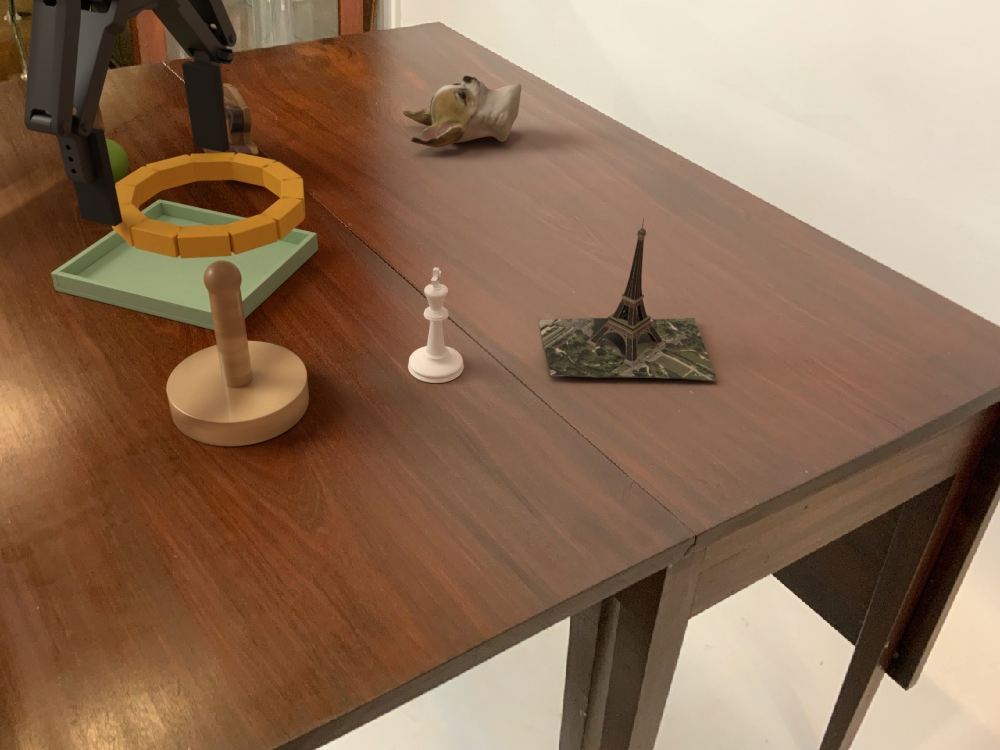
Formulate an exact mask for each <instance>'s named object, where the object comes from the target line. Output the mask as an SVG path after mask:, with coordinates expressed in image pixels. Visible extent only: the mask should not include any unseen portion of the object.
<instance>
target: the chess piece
mask: <svg viewBox="0 0 1000 750" xmlns="http://www.w3.org/2000/svg"><path fill="white" fill-rule="evenodd" d="M441 277H442V270H440V267H435V266H434V267H433V268H432V277H431V279H430V283H429V284H427V285H426V286H425V287H424V288H423V289H424V290H423V292H424V293H423V294H424V296H425V297H426V300H427V303H428V307H426V308H425V309H424V311H423V317H424V318H425V319H426V320H428V321H429V329H428V335H427V343H426V345H425V346H422V347H421V346H420V347H419V348H417V349H416V350H414V351H413V352H412V353H411V354H410V356H409V358H408V364H407V368H408V372H409V373H410V375H411V376H412V377H414V379H416V380H418V381H421V382H425V383H430V384H441V383H448V382H451V381H453V380H455V379H457V378H458V377H459V376H461V374H462V373H463V371H464V368H465V367H464V365H465V364H464V359H463V356H462V355H461V353H459V352H458V350H457V349H455V348H453V347H450V346H447V345H446V344H445V337H444V330H443V321H445V320H446V319H447V318H448V317H449V315H450V314H449V311H448V309H447V308H446V307H444V304H445V300H446V299H447V297H448V293H449V289H448V287H447V286H446V285H445V284H443V283H440V279H441Z"/></svg>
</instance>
